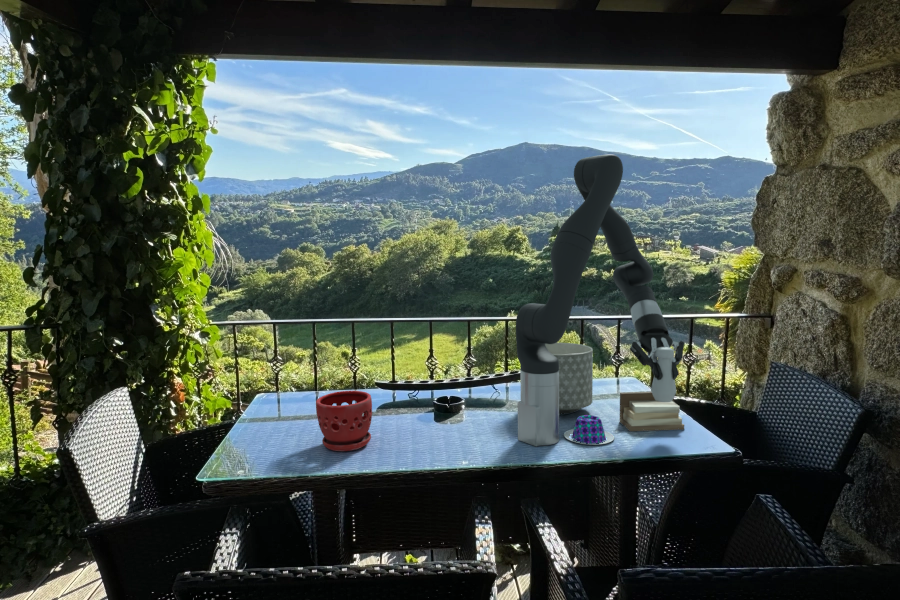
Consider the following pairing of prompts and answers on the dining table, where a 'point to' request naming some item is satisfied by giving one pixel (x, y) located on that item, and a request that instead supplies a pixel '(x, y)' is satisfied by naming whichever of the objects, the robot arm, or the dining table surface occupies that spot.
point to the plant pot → (345, 419)
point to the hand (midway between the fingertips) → (667, 377)
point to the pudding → (589, 431)
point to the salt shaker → (664, 376)
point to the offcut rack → (648, 413)
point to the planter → (573, 375)
